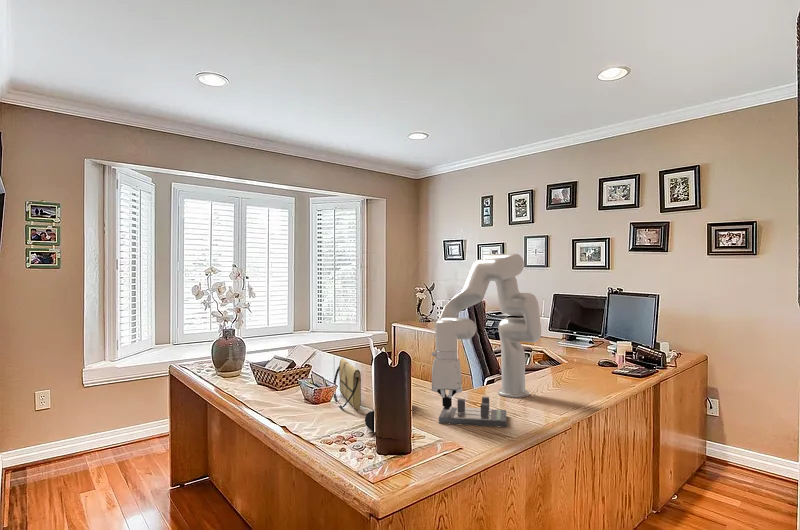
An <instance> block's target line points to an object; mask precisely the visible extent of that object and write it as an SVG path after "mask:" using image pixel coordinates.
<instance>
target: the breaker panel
mask: <svg viewBox="0 0 800 530" xmlns="http://www.w3.org/2000/svg"><path fill="white" fill-rule="evenodd" d="M440 423H450V424H449V425H456V424H462V426H472V425H477V427H478V426H479V427H489V426H500V427H499V428H505V427H507V410H506V409H492V408H489V410H488V418H486V417H481V407H468V406H467V407H466V406H465V412H458V406H457V407H452V406H451V407H450V409H449V410H447V409H446V410H444V407H443V408H442V410H441V412H440V415H439V416H438V424H440Z"/></svg>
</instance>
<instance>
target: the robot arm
mask: <svg viewBox="0 0 800 530" xmlns="http://www.w3.org/2000/svg"><path fill="white" fill-rule="evenodd" d="M524 268H525V262H524V258H523V257H522V256H521V255H520V254H518V253H494V254H488V255H485V256H484V257H482V258H481V259H477V260H475V261H474V262H473V263H472V265H471V267H470V269H469V272H468V274H467V277H466V280H465V281H464V285H463V287H462V289H461V291H460V292H459V293H457V294H456V295H455V296H453V297H452V298H451V299H450V300H449V301H448V302H447V303H446V304H445V306H444V307H443V309H442V311H441V314H440V316H439V319H438V320H437V321H436V322H435V351H431V356H433V357H434V359H433V361H432V368H431V391H432V392H436V393H438V394H439V396H441V398H442V407H443V408H444V410H446V409H447V410H449V409H450V407H452V402H453V399H452V397H453V396H455V395H456V394H459V393H462V392H463V386H462V385H463V384H462V383H463V380H462V367H461V362H460V358H458V340H470V339H471V338H473V337H474V336H475V334H476V332H477V325H476V323H475V321H473V320H472V319H470V318H466V317H457V316H458V314H460V313H461V312H462V311H463V310H465V309H468V308H470V307H473V306H475V305H477V304H479V303H481V302H482V301H483V300H484V298H485V296H486V295H485V294H486V293H487V290H488V287H489V284H490V282H494V283H495V284H496V289H497V290H496V291H497V299H498V300H497V301H498V306H499V311H500V312H501V314H503V315H505V316H512V317H506V318H503V319H501V320H500V322H499V323H498V328H497V329H498V335H499V340H500V350H501V351H500V354H501V357H500V358H501V360H500V362H501V388H499V389H498V390H497V393H498V395H500V396H502V397H507V398H517V399H519V398H525V397H528V396H530V391H529V390H527V389H526V357H525V356H526V353H525V348H524V346H523V344H522V343H533V344H534V343H537V342H539V340H540V339H541V337H542V325H541V324H542V321H541V314H540V306H539V301H538V299H537V297H536V296H535V295H534V293H530V292H520V290H519V286H518V285H519V284H518V279H517V277H516V276H519V275H520V274H521V273H522V272H523V271H524ZM513 316H516V317H513ZM521 317H523V318H521ZM521 342H522V343H521ZM447 390H448V395H447V393H446V391H447Z"/></svg>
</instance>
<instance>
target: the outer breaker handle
mask: <svg viewBox="0 0 800 530" xmlns="http://www.w3.org/2000/svg"><path fill="white" fill-rule="evenodd" d="M480 408H481V417H486V418H488V404H487V403H482V402H481V403H480Z"/></svg>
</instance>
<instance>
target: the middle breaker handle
mask: <svg viewBox="0 0 800 530" xmlns="http://www.w3.org/2000/svg"><path fill="white" fill-rule="evenodd" d="M457 407H458V412H465V407H466V398H457Z"/></svg>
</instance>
